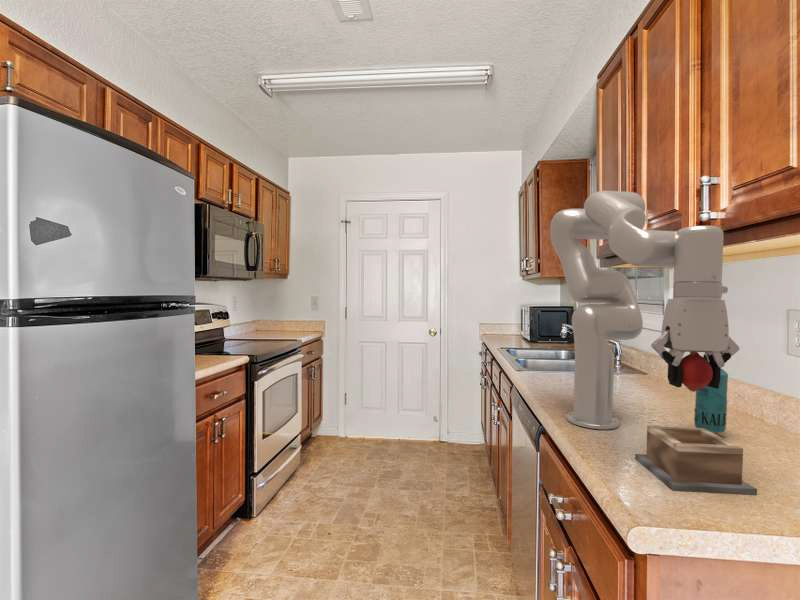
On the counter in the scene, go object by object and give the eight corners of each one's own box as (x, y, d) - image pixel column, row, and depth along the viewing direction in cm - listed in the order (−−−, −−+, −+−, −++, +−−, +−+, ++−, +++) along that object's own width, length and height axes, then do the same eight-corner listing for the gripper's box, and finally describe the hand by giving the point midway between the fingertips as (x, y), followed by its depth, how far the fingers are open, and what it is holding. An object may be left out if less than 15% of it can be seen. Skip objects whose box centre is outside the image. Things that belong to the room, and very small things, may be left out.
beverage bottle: (702, 428, 109) (705, 351, 108) (732, 437, 103) (735, 355, 102) (687, 432, 106) (690, 353, 105) (717, 440, 100) (720, 357, 99)
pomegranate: (696, 388, 83) (698, 347, 83) (719, 395, 78) (721, 352, 77) (668, 387, 83) (669, 347, 83) (689, 395, 77) (690, 351, 77)
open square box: (635, 458, 88) (636, 423, 88) (705, 461, 87) (706, 426, 87) (672, 490, 74) (674, 448, 74) (756, 494, 73) (758, 452, 73)
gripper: (730, 292, 83) (727, 383, 83) (639, 291, 84) (636, 380, 85) (760, 293, 75) (756, 392, 76) (659, 291, 77) (656, 389, 77)
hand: (693, 385), depth 80 cm, fingers closed on pomegranate, 5 cm apart
